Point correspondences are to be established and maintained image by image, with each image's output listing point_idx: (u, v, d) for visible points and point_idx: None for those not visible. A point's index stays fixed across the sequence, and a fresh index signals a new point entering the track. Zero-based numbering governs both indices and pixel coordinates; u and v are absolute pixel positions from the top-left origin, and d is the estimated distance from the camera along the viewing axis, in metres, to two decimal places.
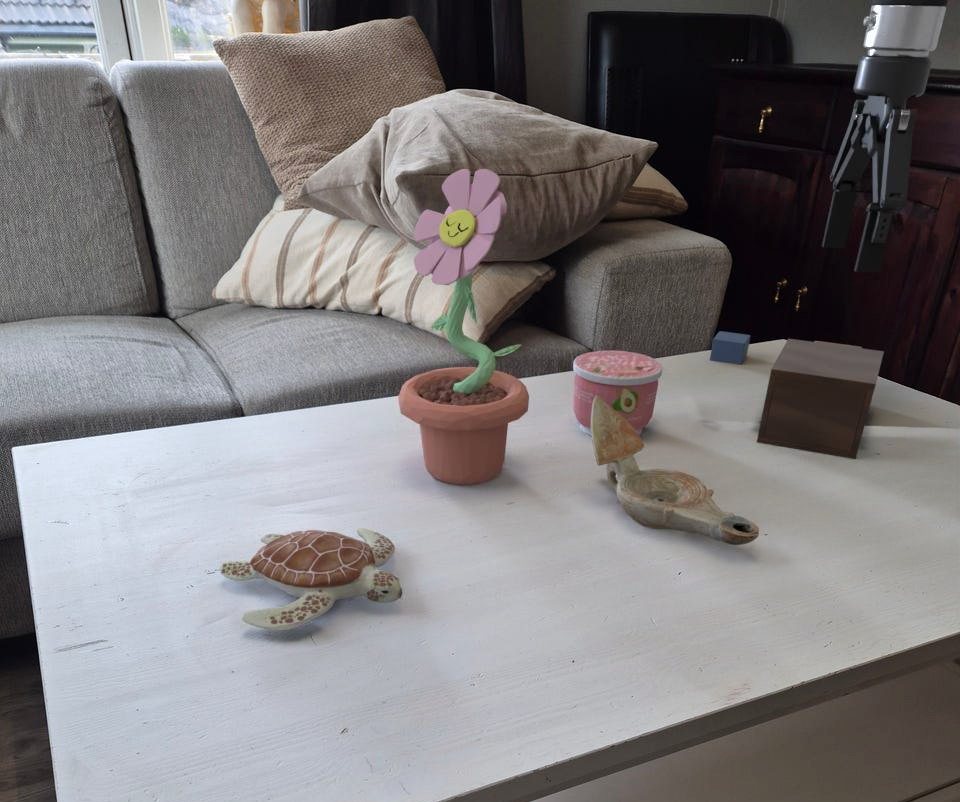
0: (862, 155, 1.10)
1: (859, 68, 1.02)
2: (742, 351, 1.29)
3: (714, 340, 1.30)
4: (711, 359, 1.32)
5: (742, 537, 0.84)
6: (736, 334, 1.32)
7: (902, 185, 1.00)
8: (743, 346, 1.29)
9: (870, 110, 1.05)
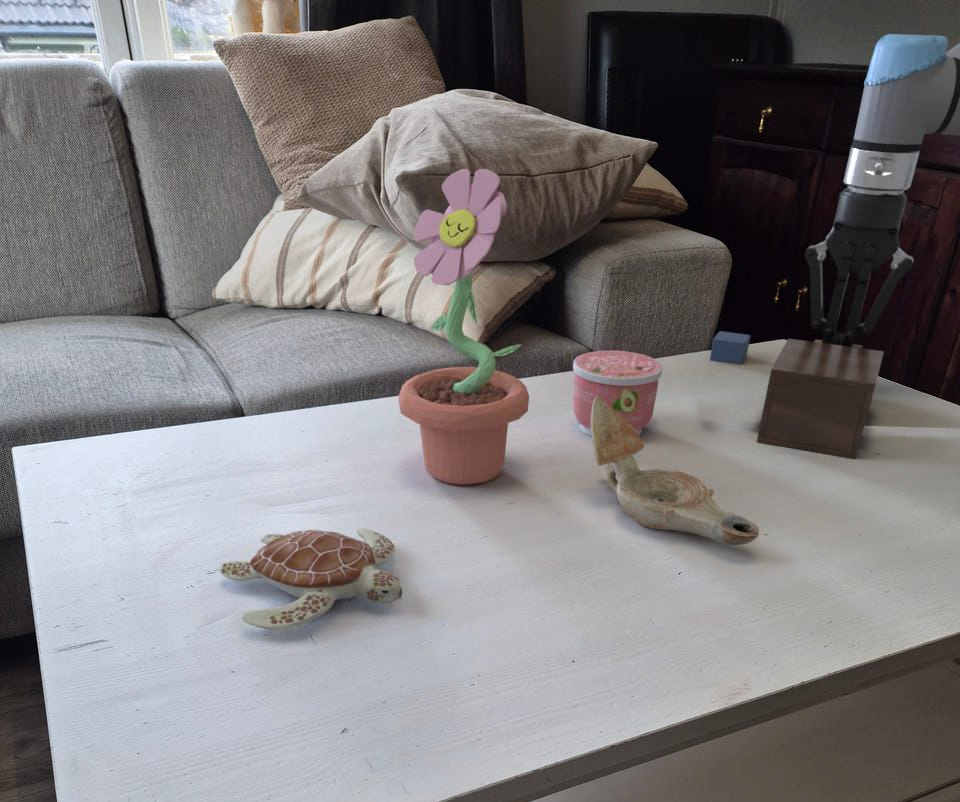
0: (845, 286, 1.15)
1: (869, 207, 1.07)
2: (742, 351, 1.29)
3: (714, 340, 1.30)
4: (711, 359, 1.32)
5: (742, 537, 0.84)
6: (736, 334, 1.32)
7: None
8: (743, 346, 1.29)
9: (851, 240, 1.12)
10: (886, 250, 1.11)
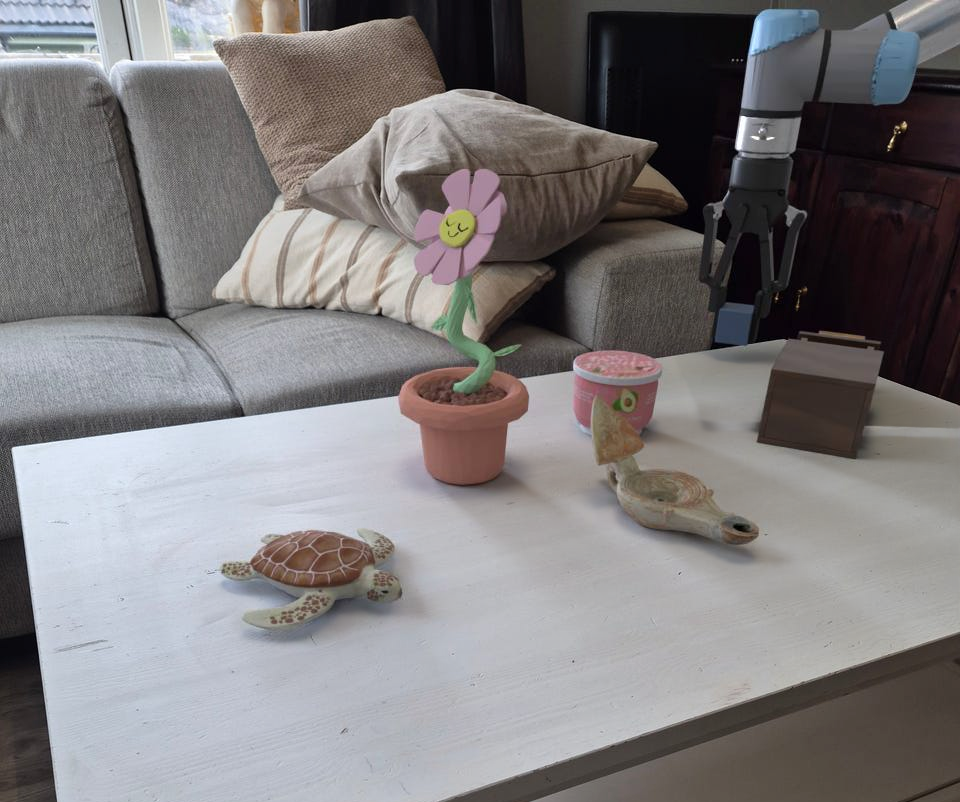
0: (735, 245, 1.25)
1: (757, 170, 1.16)
2: (749, 321, 1.27)
3: (721, 311, 1.28)
4: (718, 330, 1.29)
5: (742, 537, 0.84)
6: (743, 305, 1.30)
7: (790, 272, 1.24)
8: (750, 316, 1.27)
9: (745, 202, 1.21)
10: (777, 210, 1.20)
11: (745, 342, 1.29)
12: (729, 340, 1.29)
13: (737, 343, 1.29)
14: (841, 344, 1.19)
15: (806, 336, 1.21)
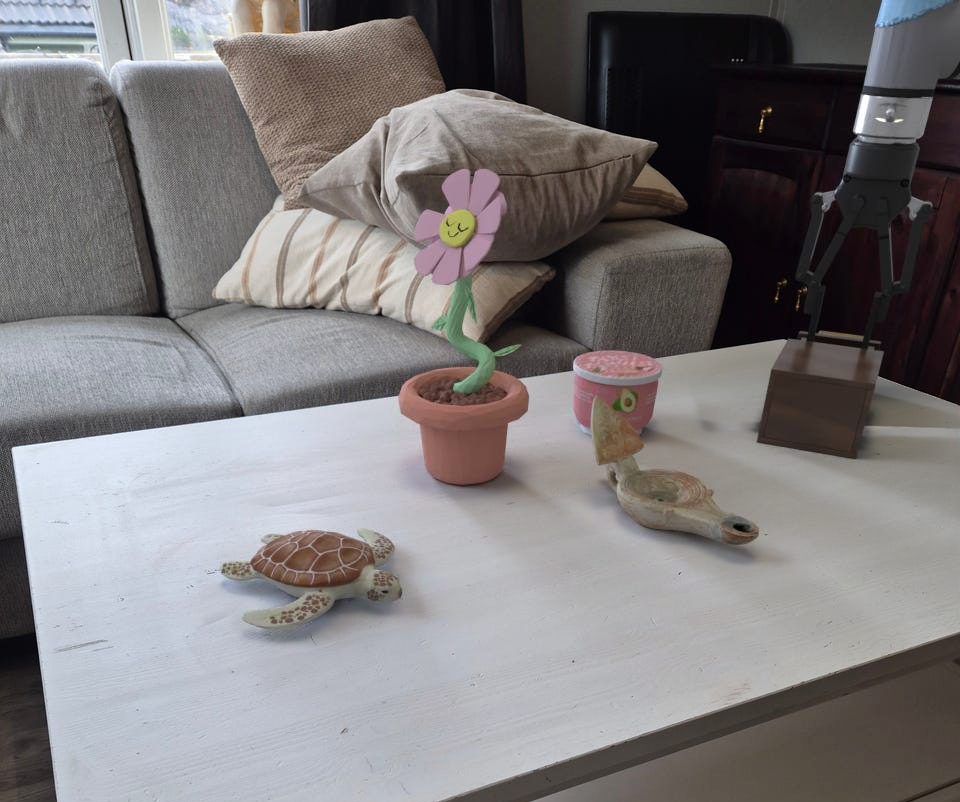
0: None
1: (880, 157, 1.02)
2: None
3: None
4: None
5: (742, 537, 0.84)
6: None
7: None
8: None
9: (861, 193, 1.07)
10: (899, 203, 1.06)
11: None
12: None
13: None
14: (841, 344, 1.19)
15: (806, 336, 1.21)
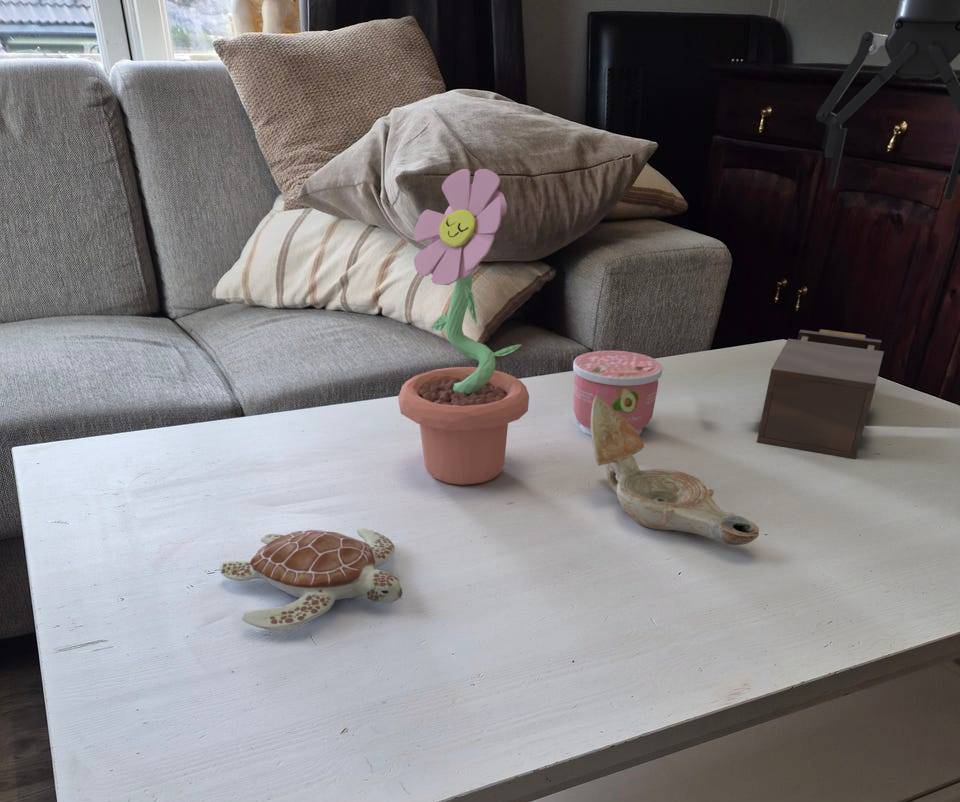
0: (878, 88, 1.08)
1: None
2: None
3: None
4: None
5: (742, 537, 0.84)
6: None
7: None
8: None
9: (913, 40, 1.04)
10: (955, 48, 1.03)
11: None
12: None
13: None
14: (842, 343, 1.20)
15: (807, 335, 1.21)
